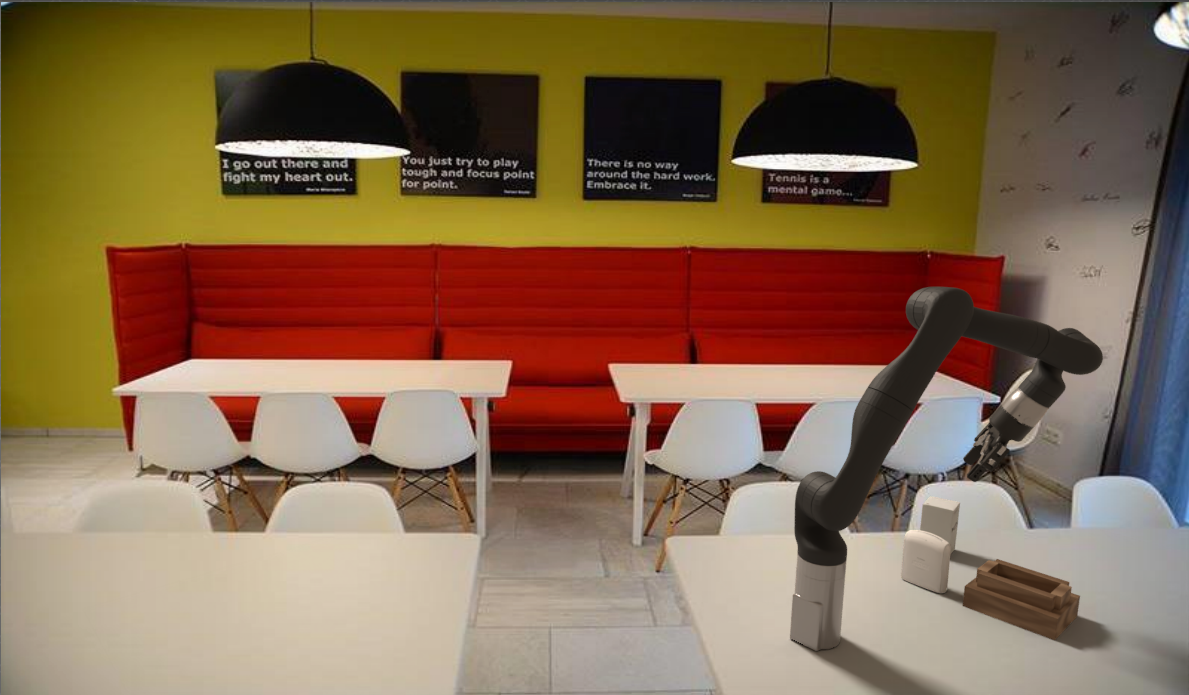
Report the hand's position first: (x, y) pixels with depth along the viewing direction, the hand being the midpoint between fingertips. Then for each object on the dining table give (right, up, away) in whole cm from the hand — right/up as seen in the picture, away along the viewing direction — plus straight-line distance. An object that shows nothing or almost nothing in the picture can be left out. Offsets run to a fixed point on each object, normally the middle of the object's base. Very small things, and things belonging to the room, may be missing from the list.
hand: (968, 470), depth 171 cm
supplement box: (+4, -24, +26) cm, 36 cm away
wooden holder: (+9, -30, -3) cm, 31 cm away
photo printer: (-6, -27, +8) cm, 29 cm away
